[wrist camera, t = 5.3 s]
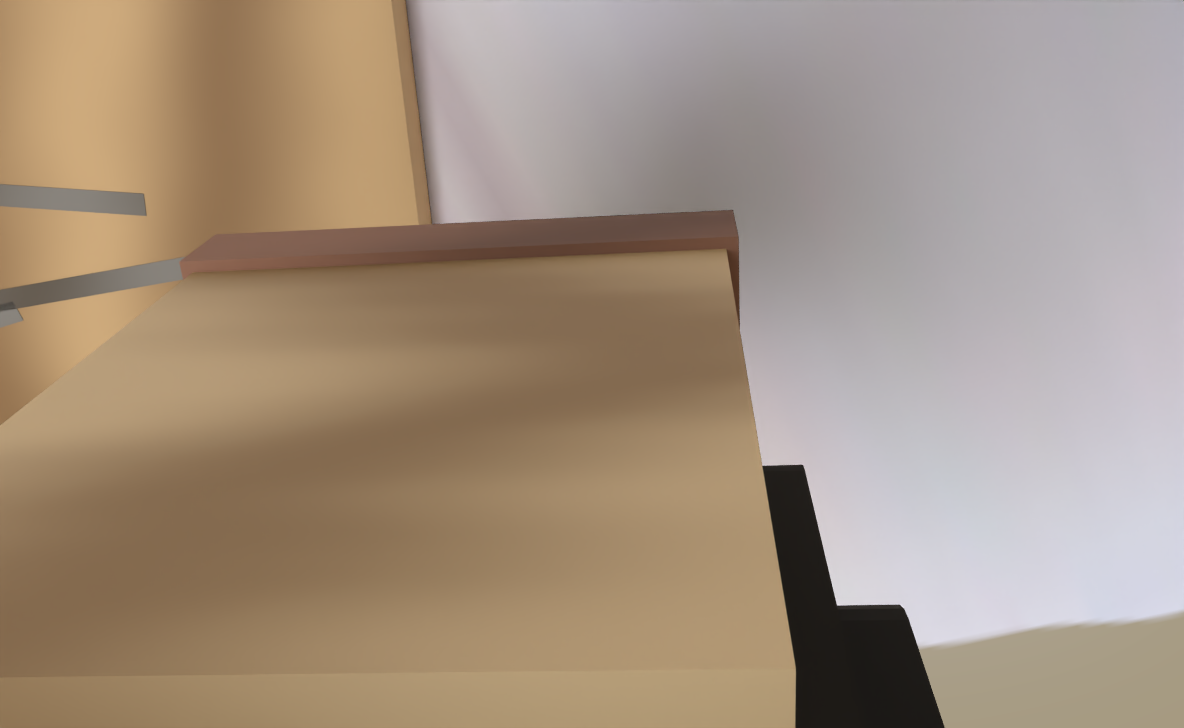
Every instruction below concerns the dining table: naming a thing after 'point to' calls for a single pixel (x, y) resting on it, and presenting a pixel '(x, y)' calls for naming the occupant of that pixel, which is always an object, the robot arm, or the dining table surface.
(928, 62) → the dining table surface
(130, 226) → the board
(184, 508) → the block
